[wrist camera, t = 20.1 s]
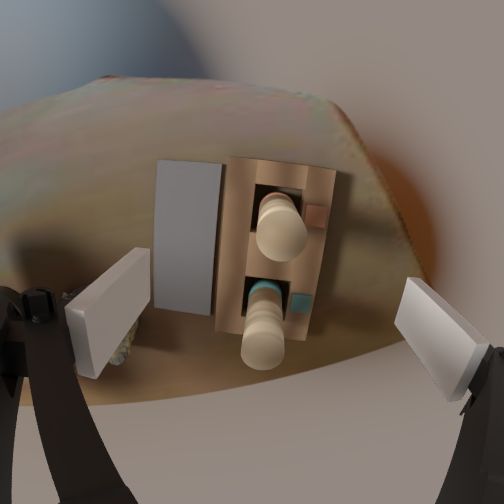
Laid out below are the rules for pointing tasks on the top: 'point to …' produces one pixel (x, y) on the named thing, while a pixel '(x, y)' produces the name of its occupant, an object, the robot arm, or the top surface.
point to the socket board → (249, 255)
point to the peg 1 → (280, 228)
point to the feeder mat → (185, 234)
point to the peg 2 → (263, 326)
